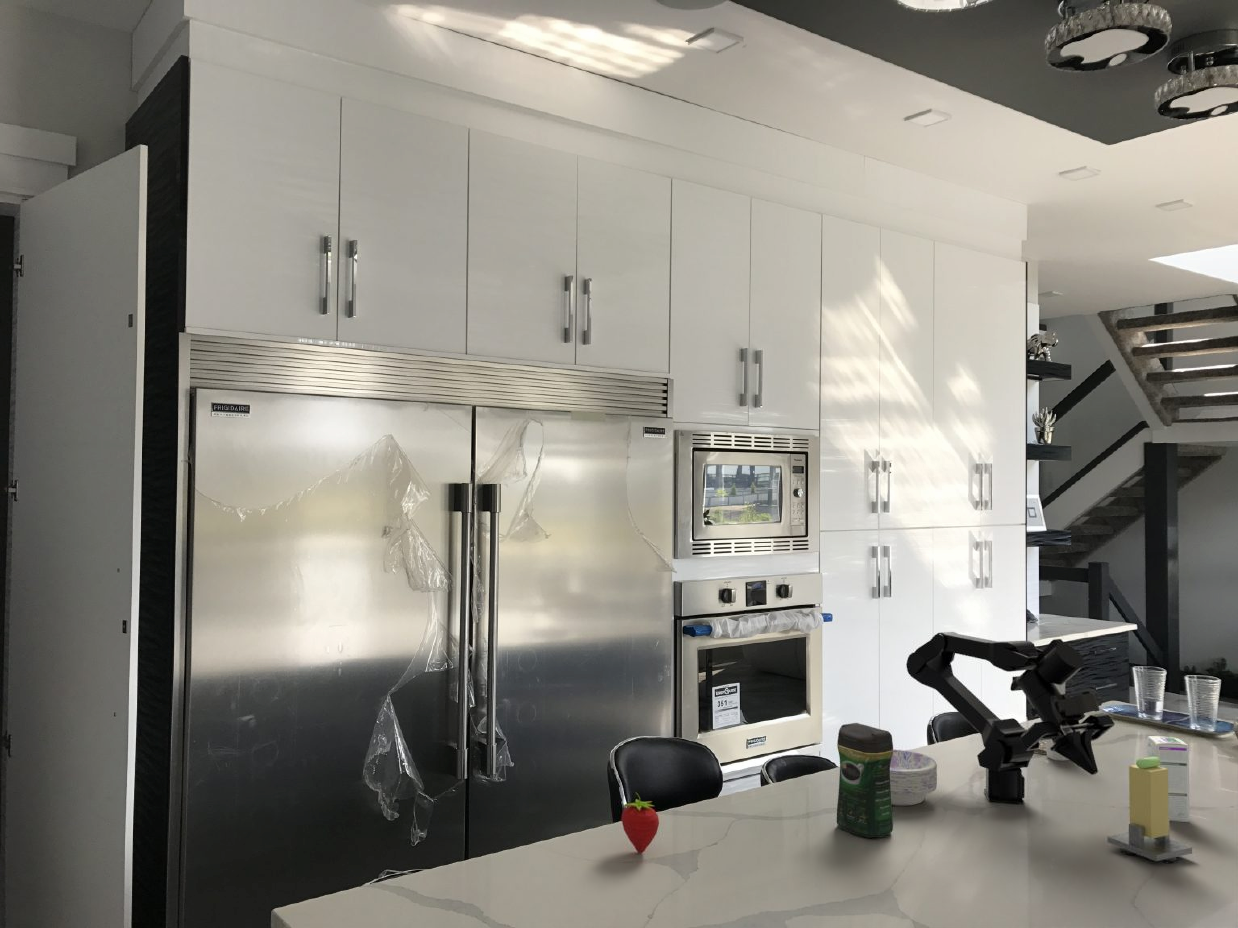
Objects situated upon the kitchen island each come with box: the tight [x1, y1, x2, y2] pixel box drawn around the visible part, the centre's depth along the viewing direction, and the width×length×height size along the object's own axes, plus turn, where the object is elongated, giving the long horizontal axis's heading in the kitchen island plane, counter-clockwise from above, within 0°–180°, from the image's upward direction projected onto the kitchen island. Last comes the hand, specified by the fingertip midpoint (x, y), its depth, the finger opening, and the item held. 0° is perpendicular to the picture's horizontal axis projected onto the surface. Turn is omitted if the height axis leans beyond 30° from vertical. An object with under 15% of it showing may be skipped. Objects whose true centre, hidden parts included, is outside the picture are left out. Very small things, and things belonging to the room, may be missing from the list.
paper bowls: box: [890, 748, 938, 807], centre depth 189 cm, size 15×15×8 cm
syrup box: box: [1147, 735, 1191, 823], centre depth 182 cm, size 6×6×14 cm
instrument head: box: [1128, 757, 1170, 838], centre depth 162 cm, size 4×4×13 cm
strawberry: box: [621, 792, 660, 854], centre depth 158 cm, size 6×8×10 cm
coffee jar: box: [836, 722, 894, 838], centre depth 171 cm, size 10×8×19 cm
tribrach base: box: [1107, 821, 1193, 865], centre depth 162 cm, size 9×9×5 cm
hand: (1095, 773), depth 172 cm, fingers closed
